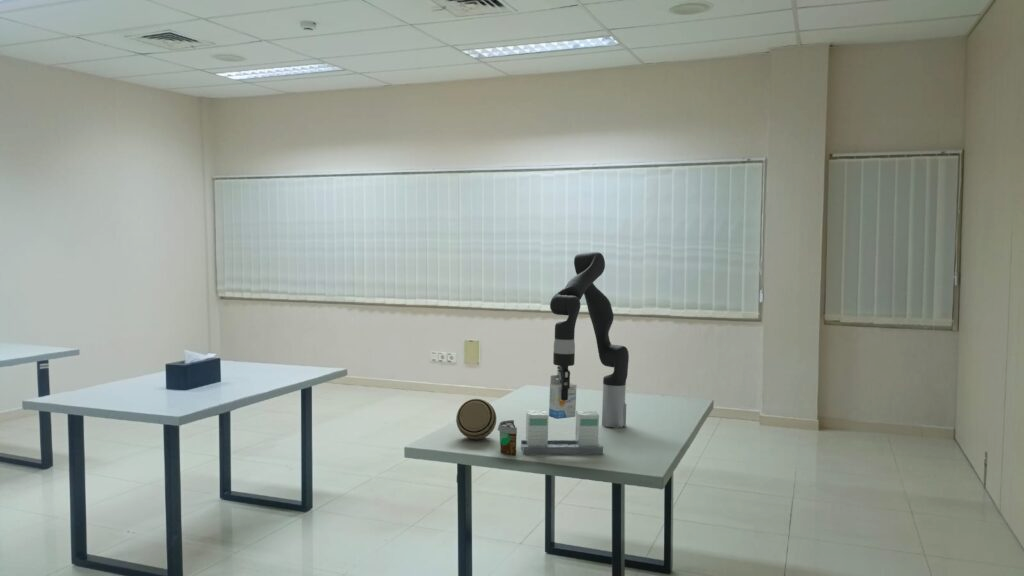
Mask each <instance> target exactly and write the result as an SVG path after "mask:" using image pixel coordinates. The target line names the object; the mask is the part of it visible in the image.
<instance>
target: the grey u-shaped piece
mask: <svg viewBox="0 0 1024 576" xmlns="http://www.w3.org/2000/svg"><path fill="white" fill-rule="evenodd" d="M525 413H526V414H525V415H526V416H525V418H526V421H525V422H526V423H525V439H521V440H520V441H521V442H520V447H521V451H522V453H523V455H604V446H603V445H602V446H601V445H600V444H599V435H600V434H599V430H600V429H599V428H600V425H599V423H600V415H599V413H598V412H597V411H596V410H576V414H575V437H574V438H575V439H548V437H549V412H547V410H526V412H525Z"/></svg>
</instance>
